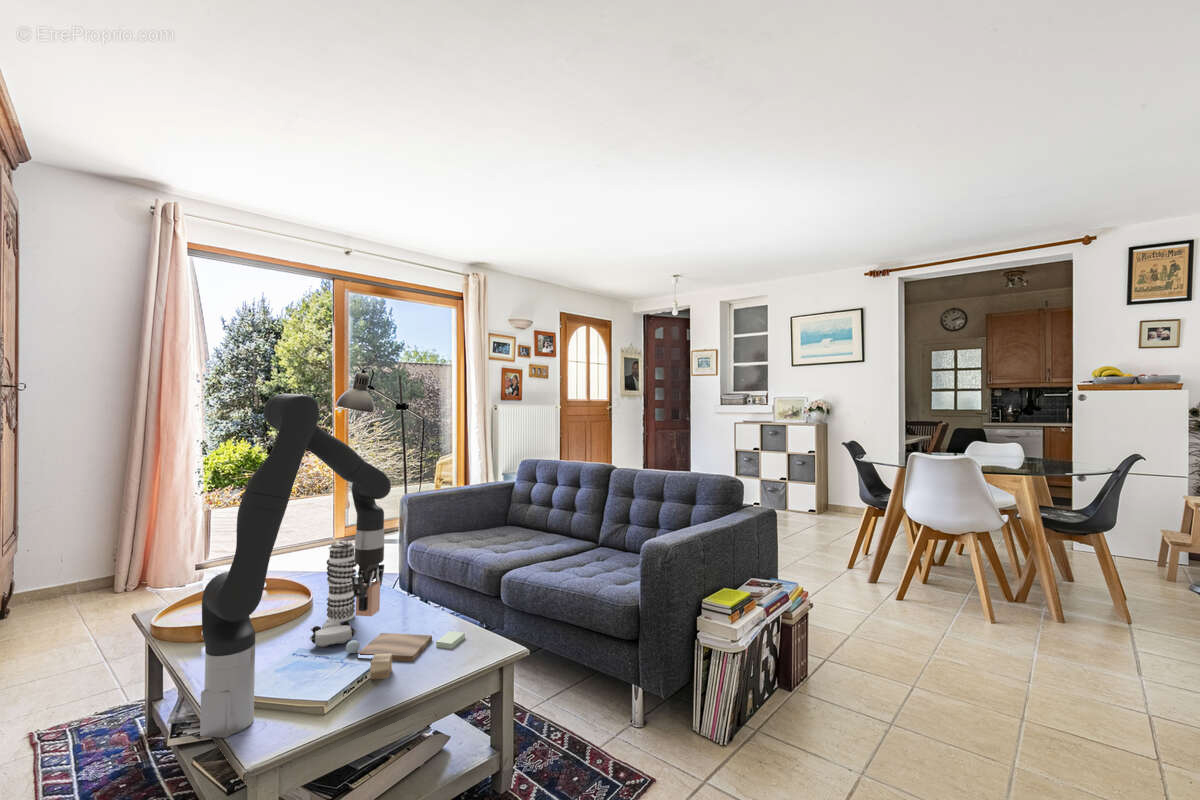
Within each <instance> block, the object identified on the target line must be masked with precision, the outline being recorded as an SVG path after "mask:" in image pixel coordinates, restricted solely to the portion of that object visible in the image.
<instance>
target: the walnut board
mask: <svg viewBox="0 0 1200 800" xmlns="http://www.w3.org/2000/svg"><path fill="white" fill-rule="evenodd" d="M432 641H433V635H430V634H410V633H408V634H407V633H390V632H388V633H387V632H381V633H380V634H378V635H377V636H376V637H375V638H374V639H372V640H371V641H370V642H368V644H367V645H365V646H363V647H362V648H361V650H358V651H357V652H356V654H360V655H376V654H392V662H393V661H396V662H414V660H416V658H417V657H418V656H419V655H420V654H421V653H422V652H423V651H424V650H425V648H426V647H427V646H429V644H430V643H431V642H432Z"/></svg>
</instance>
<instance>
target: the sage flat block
mask: <svg viewBox="0 0 1200 800" xmlns="http://www.w3.org/2000/svg"><path fill="white" fill-rule="evenodd" d="M465 635H466V633H465V632H462V631H453V630H449V631H447V633H445V634H444V635H443V636H442V637H440V638H439V639H438V640H436V642H435V647H436V648H442V649H448V650H449V649H450V650H452V649H453V648H454V647H456V646H457V645H458V644H459V643H461V642H462V641H464V639H465V637H466V636H465Z"/></svg>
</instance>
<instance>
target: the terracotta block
mask: <svg viewBox="0 0 1200 800" xmlns="http://www.w3.org/2000/svg"><path fill="white" fill-rule="evenodd" d="M364 585H367V584H365V583H364ZM357 591H358V590H357ZM364 591H365V588H364ZM367 597H368V606H367V610H366V611H359V597H355V616H360V617H373V616H374V615H376V614H377V613H378V612H380V606H381V605H380V604H381V603H380V601H381V600H380V599H381V586H380V582H372V585H371V587H370V588H369V589H368V596H367Z"/></svg>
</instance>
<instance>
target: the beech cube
mask: <svg viewBox="0 0 1200 800" xmlns="http://www.w3.org/2000/svg"><path fill="white" fill-rule="evenodd" d="M392 671H393V660H392V654H376V655H374V657H373V659H371V660H370V677H369V678H370V680H379V679H389V678H390V676H391V673H392Z"/></svg>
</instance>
